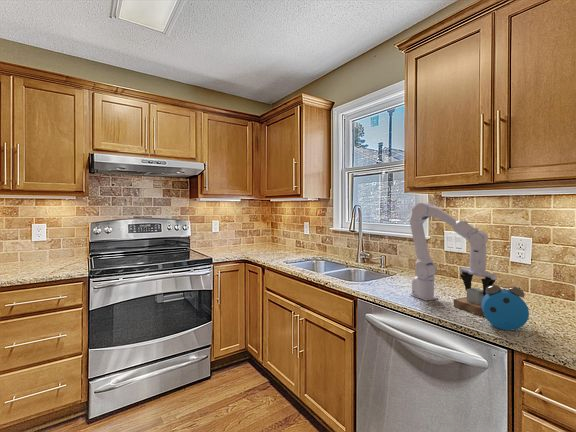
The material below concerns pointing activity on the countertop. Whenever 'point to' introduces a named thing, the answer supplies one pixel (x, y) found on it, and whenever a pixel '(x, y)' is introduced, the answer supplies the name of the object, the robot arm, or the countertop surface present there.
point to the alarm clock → (505, 307)
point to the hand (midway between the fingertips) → (476, 293)
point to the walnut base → (468, 306)
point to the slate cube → (475, 295)
